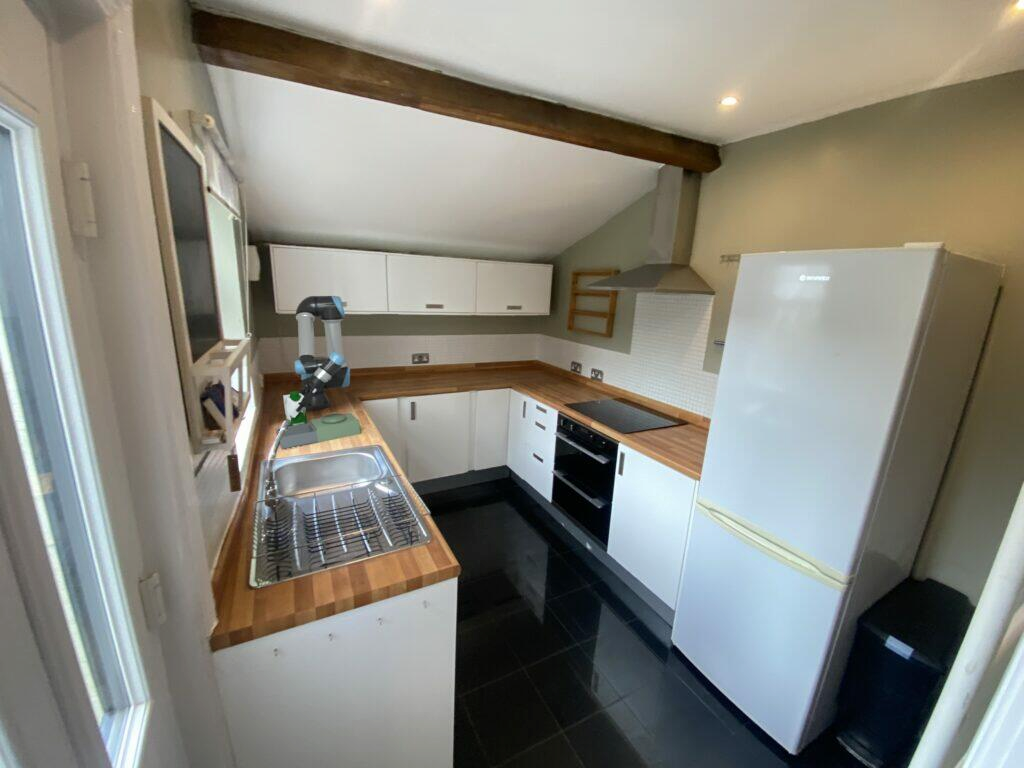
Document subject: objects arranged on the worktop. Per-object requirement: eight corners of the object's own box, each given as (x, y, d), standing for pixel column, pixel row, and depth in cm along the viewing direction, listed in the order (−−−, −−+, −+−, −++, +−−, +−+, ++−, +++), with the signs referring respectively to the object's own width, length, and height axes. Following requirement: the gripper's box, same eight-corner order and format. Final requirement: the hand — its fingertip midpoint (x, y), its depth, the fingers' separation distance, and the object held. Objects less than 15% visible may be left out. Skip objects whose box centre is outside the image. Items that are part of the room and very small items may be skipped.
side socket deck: (351, 425, 208) (349, 409, 206) (360, 433, 197) (358, 417, 195) (277, 440, 189) (274, 422, 187) (282, 450, 177) (279, 431, 175)
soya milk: (290, 434, 196) (285, 394, 191) (286, 429, 203) (280, 391, 198) (310, 430, 202) (305, 391, 197) (304, 425, 208) (300, 388, 204)
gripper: (331, 387, 197) (300, 423, 191) (320, 378, 215) (292, 411, 210) (318, 378, 192) (286, 415, 187) (308, 370, 211) (279, 403, 205)
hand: (289, 413), depth 198 cm, fingers open, 11 cm apart
